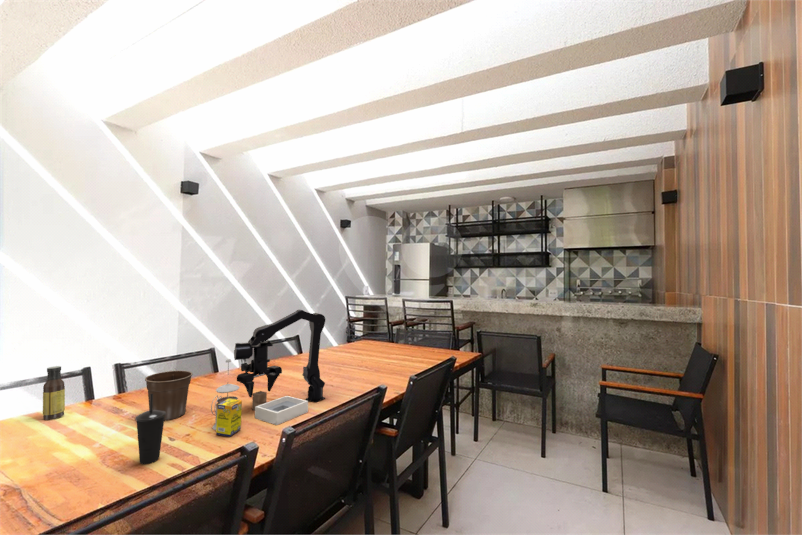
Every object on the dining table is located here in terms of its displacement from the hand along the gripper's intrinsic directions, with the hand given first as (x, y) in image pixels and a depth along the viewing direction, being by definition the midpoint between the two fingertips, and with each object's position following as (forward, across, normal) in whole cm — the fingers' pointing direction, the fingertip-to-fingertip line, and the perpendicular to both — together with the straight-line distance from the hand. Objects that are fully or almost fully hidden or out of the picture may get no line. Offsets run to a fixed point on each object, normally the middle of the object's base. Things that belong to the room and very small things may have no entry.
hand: (260, 394), depth 150 cm
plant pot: (+7, +24, -25) cm, 35 cm away
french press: (+7, +18, +4) cm, 20 cm away
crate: (+6, -1, +13) cm, 14 cm away
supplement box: (+6, +21, +10) cm, 24 cm away
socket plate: (+6, -1, +13) cm, 14 cm away
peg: (+6, 0, 0) cm, 7 cm away
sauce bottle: (+6, +49, -61) cm, 79 cm away
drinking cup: (+6, +45, +8) cm, 46 cm away
